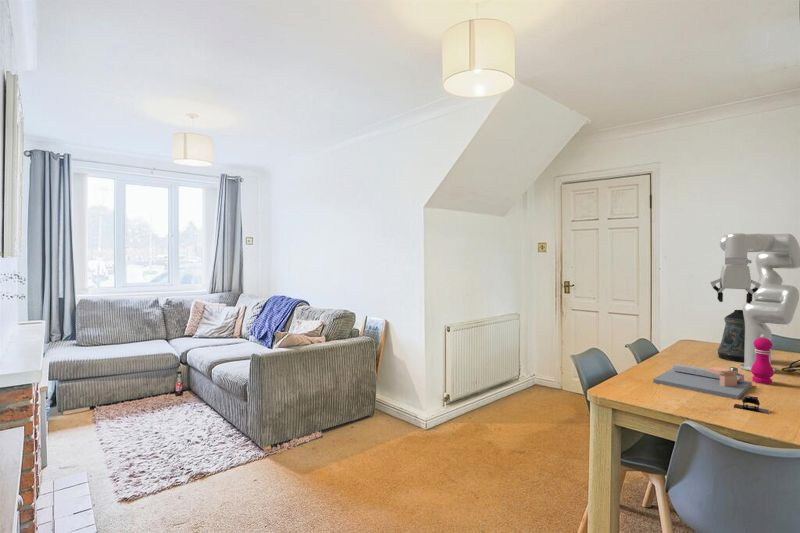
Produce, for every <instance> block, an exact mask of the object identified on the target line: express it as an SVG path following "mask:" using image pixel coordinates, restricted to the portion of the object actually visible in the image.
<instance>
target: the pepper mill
mask: <svg viewBox="0 0 800 533" xmlns="http://www.w3.org/2000/svg"><path fill="white" fill-rule="evenodd" d="M760 337H761V338H758V339H756V340H755V341H754V346H755V348H756V349H755V353H756V360H755V362H754V364H753V365H752V368H751V371H750V372H751V374H752V375H753V376H752V377H751V380H752V381H751V382H752V383H756V384H757V383H758V384H762V385H771V384H772V383H773V379H772V377H773V376H774V374H775V372H773V368H774V367H772V363H771V364H770V362H769V354H771V355H772V348H773V342H772V340H771V341H770V340H768V339H766V336H765V335H764V334H762V335H761V336H760ZM770 349H771V351H770ZM770 352H771V353H770Z"/></svg>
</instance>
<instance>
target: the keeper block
mask: <svg viewBox="0 0 800 533" xmlns="http://www.w3.org/2000/svg"><path fill="white" fill-rule="evenodd" d="M707 369H708V372H711V373H715V374H718V375H720V385H722V386H735V385H737V372H736V371H732V370H730V368H729V369H728V368H725V367H720V366H718V367H717V366H714V367H707Z"/></svg>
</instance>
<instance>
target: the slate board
mask: <svg viewBox="0 0 800 533" xmlns="http://www.w3.org/2000/svg"><path fill="white" fill-rule="evenodd" d="M652 382H653V384H654V383H655V384H659V385H664V386H669V387H674V388H678V389H682V390H688V391H693V392H699V393H703V394H707V395H712V396H718V397H723V398H729V399H733V400H739V399H740V398H741V397H742V396H743V395H744V394H745V393H746V392H747V391H748V390H749V389H750V388H751V387H752V383H753V381H750V380H745V379H744V381H743V382H742V383H740V382H737V385H735V386H722V385H720V379H718V378H712V377H707V376H701V375H695V374H690V373H684V372H678V371H673V367H672V368H671V369H669V370H667V371H665V372H663V373H661V374H659V375H658V376H656V377H654V378H653V379H652ZM750 386H751V387H750Z"/></svg>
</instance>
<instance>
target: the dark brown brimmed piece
mask: <svg viewBox="0 0 800 533" xmlns="http://www.w3.org/2000/svg"><path fill="white" fill-rule="evenodd" d="M760 403H761V402H760V399H759V397H757V396H754V395H747V394H745V395H744V397H743V398H742V404H738V403H734V405H733V408H734V409H739V410H743V411H744V410H745V411H748V412H749V411H750V412H755V413H761V414H765V415H769V414H770V410H769V409H766V408H761V407H760ZM749 404H751V405H749ZM752 404H753V405H752Z"/></svg>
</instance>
